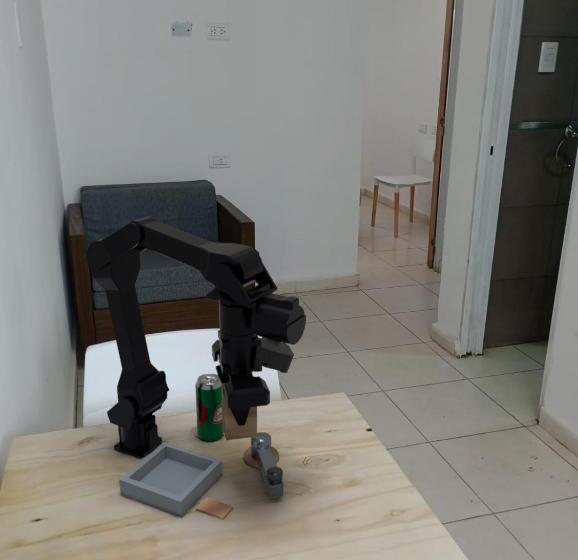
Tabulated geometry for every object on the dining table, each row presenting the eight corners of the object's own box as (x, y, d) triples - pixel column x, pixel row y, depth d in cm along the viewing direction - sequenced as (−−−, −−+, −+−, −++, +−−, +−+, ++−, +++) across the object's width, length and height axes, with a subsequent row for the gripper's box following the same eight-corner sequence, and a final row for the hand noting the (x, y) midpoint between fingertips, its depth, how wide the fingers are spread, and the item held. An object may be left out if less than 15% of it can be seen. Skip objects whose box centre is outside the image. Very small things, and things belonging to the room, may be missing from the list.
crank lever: (249, 449, 112) (249, 430, 111) (268, 447, 113) (268, 427, 112) (265, 500, 99) (265, 478, 98) (287, 497, 100) (287, 475, 99)
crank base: (192, 508, 98) (192, 505, 98) (254, 443, 115) (254, 441, 115) (226, 521, 95) (226, 518, 95) (284, 452, 113) (284, 450, 112)
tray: (120, 494, 101) (119, 479, 100) (165, 456, 111) (164, 441, 110) (181, 517, 96) (180, 501, 95) (222, 475, 106) (222, 460, 105)
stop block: (222, 426, 102) (221, 383, 99) (252, 423, 103) (252, 380, 100) (226, 440, 98) (225, 395, 95) (257, 436, 99) (257, 392, 97)
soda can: (219, 444, 115) (217, 386, 111) (193, 440, 116) (191, 383, 112) (227, 429, 120) (226, 373, 116) (202, 426, 121) (200, 371, 117)
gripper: (305, 350, 88) (302, 444, 93) (275, 303, 105) (274, 385, 110) (227, 357, 85) (229, 453, 90) (210, 308, 102) (212, 392, 107)
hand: (239, 418), depth 100 cm, fingers closed on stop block, 4 cm apart
